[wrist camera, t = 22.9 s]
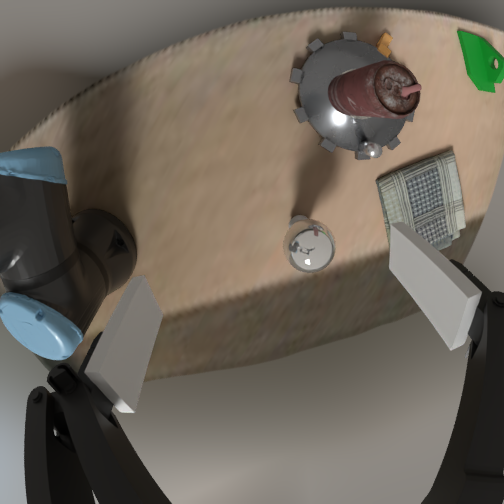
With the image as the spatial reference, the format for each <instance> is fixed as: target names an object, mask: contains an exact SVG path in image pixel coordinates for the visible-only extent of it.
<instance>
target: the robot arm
mask: <svg viewBox="0 0 504 504" xmlns="http://www.w3.org/2000/svg"><path fill="white" fill-rule="evenodd" d="M66 184H67V180H66V179H65V175H64V169H63V162H62V156H61V154H60V152H59V151H58V150H57V149H56V148H54V147H36V148H27V149H20V150H14V151H8V152H3V153H0V276H1V279H2V281H3V284H4V287H5V289H6V293H5V294H3V295H2V296H1V300H0V317H1V319H2V321H3V323H4V325H5V326H6V328H7V329H8V330H9V332H10V333H11V334H12V335H13V336H14V337H15V338H16V339H17V340H18V341H19V342H20V343H21V344H23V345H24V346H25V347H27V348H28V349H29V350H31V351H32V352H34V353H36V354H38V355H40V356H42V357H45V358H48V359H53V360H63V359H66V358H68V357H69V356H71V355H72V354H73V352H74V351H75V349H76V347H77V346H78V344H79V343H80V342H82V340H83V337H84V335H85V333H86V331H87V329H88V327H89V326H90V324H91V322H92V320H93V318H94V316H95V315H96V313H97V311H98V309H99V307H100V306H101V304H102V302H103V300H104V299H105V297H106V296H107V295H109V294H111V293H112V292H114V291H115V290H117V289H119V288H120V287H122V286H123V285H124V284H125V283H126V282H127V281H128V279H129V278H130V276H131V274H132V273H133V271H134V268H135V265H136V259H137V255H136V247H135V244H134V241H133V238H132V236H131V234H130V233H129V231H128V230H127V228H126V227H125V226H124V224H123V223H122V222H121V221H120V220H118V219H117V218H116V217H115V216H113V215H111V214H110V213H108V212H105V211H102V210H98V209H88V210H84V211H81V212H79V213H78V214H76V215H75V216H73V217H72V218H71V213H70V206H69V200H68V193H67V185H66ZM389 269H390V270H391V271H392V273H393V274H394V275H395V276H396V277H397V279H398V280H399V281H400V282H401V284H402V285H403V286H404V287H405V289H406V290H407V291H408V292H409V294H410V295H411V296H412V298H413V299H414V300H415V302H416V303H417V304H418V306H419V307H420V308H421V310H422V311H423V312H424V314H425V315H426V316H427V318H428V319H429V320H430V322H431V323H432V325H433V326H434V327H435V329H436V330H437V332H439V334H440V336H441V337H442V339H443V340H444V341H445V343H446V345H447V346H448V347H449V349H450V350H453V349H455V348H457V347H459V346H461V345H463V344H464V343H465V340H466V338H467V335H468V334H469V336H470V337H471V339H472V341H471V343H470V345H469V348H468V350H467V353H466V355H465V357H466V358H467V356H468V354H469V356H468V363H467V370H466V376H465V381H464V387H463V392H462V396H461V401H460V405H459V409H458V413H457V417H456V421H455V425H454V428H453V431H452V435H451V438H450V441H449V444H448V448H447V451H446V453H445V456H444V459H443V461H442V464H441V467H440V469H439V472H438V474H437V477H436V479H435V481H434V484H433V486H432V488H431V490H430V492H429V493H428V495H427V496H426V497H425V499H424V500H423V502H422V503H421V504H502V502H503V500H504V474H503V470H504V293H502V292H499V291H498V292H495V291H494V292H491V291H490V290H489V289H488V288H487V287H486V286H485V285H484V284H483V283H482V282H480V281H479V280H478V279H477V278H476V277H475V276H473V274H472V273H471V272H470V271H468V269H467V268H466V267H464V266H463V265H462V264H461V263H459V262H457V261H455V260H453V259H451V260H448V259H447V258H446V257H444V256H443V255H442V254H441V253H440V252H439V251H438V250H437V249H435V248H434V247H433V246H432V245H431V244H430V243H428V242H427V241H426V240H425V239H424V238H422V237H421V236H420V235H419V234H418V233H416V232H415V231H414V230H413V229H411V228H410V227H409V226H408V225H406V224H405V223H404V222H403V221H402V222H397V223H393V224H390V264H389ZM162 317H163V314H162V312H161V310H160V308H159V305H158V303H157V301H156V299H155V297H154V295H153V293H152V291H151V289H150V286H149V284H148V282H147V280H146V278H145V275H143V276H138V277H133V278H132V279H131V281H130V283H129V285H128V286H127V288H126V290H125V292H124V294H123V295H122V297H121V299H120V301H119V303H118V305H117V306H116V308H115V310H114V312H113V314H112V316H111V318H110V320H109V322H108V324H107V326H106V328H105V330H104V331H103V332H100V333H99V334H98V336H97V337H96V338H95V339H94V340H93V342H92V344H91V346H90V349H89V351H88V353H87V355H86V357H85V359H84V361H83V363H82V365H81V367H80V369H79V372H78V374H77V373H76V372H75V371H74V370H73V369H72V367H71V366H70V365H69V364H68V363H60V364H58V365H56V366H55V367H54V368H53V369H52V370H51V371H50V372H49V374H48V377H47V382H48V383H49V385H50V386H51V387H52V388H53V389H54V390H55V391H56V392H52V393H49V391H48V390H47V389H46V388H45V387H43V386H39V387H37V388H35V389H33V391H31V393H30V395H29V397H28V400H27V409H26V422H25V441H24V444H25V445H24V467H25V486H26V496H27V504H95V500H94V496H93V492H94V494H95V496H96V498H97V500H98V502H99V504H172V503H171V502H170V501H169V499H168V498H167V497H166V496H165V494H164V493H163V491H162V490H161V489H160V487H159V486H158V485H157V483H156V482H155V480H154V479H153V478H152V476H151V475H150V473H149V472H148V470H147V469H146V467H145V466H144V465H143V463H142V461H141V460H140V458H139V456H138V455H137V453H136V452H135V450H134V448H133V447H132V445H131V443H130V441H129V440H128V438H127V436H126V435H125V433H124V431H123V429H122V427H121V425H120V424H119V422H118V420H117V418H116V416H115V415H114V414H113V412H112V411H111V410H112V407H113V405H114V406H115V407H116V408H117V409H118V410H119V411H120V412H126V413H127V412H128V413H135V411H136V407H137V403H138V399H139V395H140V391H141V387H142V384H143V380H144V377H145V373H146V370H147V366H148V363H149V359H150V356H151V353H152V349H153V346H154V343H155V339H156V336H157V333H158V330H159V326H160V323H161V320H162ZM54 430H56V433H57V435H56V436H55V435H54ZM92 490H93V492H92Z"/></svg>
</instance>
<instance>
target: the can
mask: <svg viewBox="0 0 504 504" xmlns="http://www.w3.org/2000/svg"><path fill="white" fill-rule="evenodd" d="M420 90H421V85H420V84H418V82H417V80H416V78H415V76H414V75H413V73H412V72H411V71H410V70H409V69H407V68H406V67H405V66H403V65H401V64H399V63H397V62H394V61H388V60H383V61H380V62H377V63H374V64H370V65H367V66H364V67H361V68H358V69H355V70H352V71H350V72H347V73H344V74H341V75H339V76H336V77H335V78H334V79H333V80H331V82H330V84H329V86H328V98H329V101H330V103H331V105H332V106H333V107H334V108H335V109H336V110H337V111H338V112H340V113H342V114H344V115H348V116H365V117H380V118H392V119H402V118H404V117H407V116H409V115H410V114H411V113H412V112H413V111H414V110H415V109H416V108H417V106H418V104H419V101H420Z"/></svg>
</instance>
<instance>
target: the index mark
mask: <svg viewBox="0 0 504 504" xmlns="http://www.w3.org/2000/svg"><path fill="white" fill-rule="evenodd" d="M392 39H393V38H392V37H391V36H390V35H388V34H387V33H384V34H383V35H382V36H381V38H380V40H379V42H378V43H377V45H378V44H380V43H382V44H383V45H384V46H385V47H388V46H389V44H390V42H391V40H392ZM377 45H376V46H377Z"/></svg>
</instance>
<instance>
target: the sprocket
mask: <svg viewBox="0 0 504 504" xmlns="http://www.w3.org/2000/svg"><path fill="white" fill-rule="evenodd" d="M340 35H341V40H336V41H332V42H329V43H326V44H325V45H324V44H323V43H322V42H321V41H320V40H319V39H318V38H317V39H316V40H315V41H313V42H312V43H310V44H309V45H308V46H307V47H306V48H307V49H308V50H309V51H310V52H311V53H312V54H311V55H310V56H309V57H308V59H307V60H306V62H305V63H304V65H303V67H302V69H301V70H300V69H296V68H293V69H292V71H291V76H290V81H289V82H291V83H296V84H298V94H299V101H300V104H301V107H300V108H297V109H295V110H293V111H294V113H295V115H296V117H297V119H298V122H299V123H302V122H304V121H307V120H308V122H309V123H310V124H311V126H312V127H313V128H314V129H315V130H316V132H317V133H318V134H320V135H321V136H322V139H321V141H320V142H319V144H318V145H320V146H321V147H323V148H325V149H326V150H328V151H329V152H333V150H334V149H335V147H336V146H339V147H341V148H344V149H347V150H352V151H355V159H357V160H364V159H370V156H371V157H374V158H378V157H380V156H381V154H382V148H381V147H383V146H385V145H386V146H387V147H388V149H390V150H393V149H394V148H395V147H397V146H398V145H399V144H400V143H401V142H400V141H399V139H398V138H397V135H398V134H399V133H400V131H401V129H402V128H403V126H404V123H405V121H408V122H413V117H414V112H415V110H414V111H413V112H412V113H411V114H410V115H409V116H407V117H404V118H402V119H392V118H380V117H365V116H348V115H344V114H342V113H340V112H338V111H337V110H336V109H335V108H334V107H333V106H332V105H331V103H330V101H329V98H328V86H329V84H330V82H331V80H333V79H334V78H335V77H336V76H339V75H341V74H344V73H347V72H350V71H352V70H355V69H358V68H361V67H364V66H367V65H370V64H374V63H377V62H380V61H383V60H388V61H392V60H391V59H390V58H389V55H390V53H391V50H389V49H388V48H387V47H385V46H384V45H383V44H382V43H380V44H378V45H377V47H374V46H372V45H370V44H368V43H365V42H362V41H358V40H357V36H356V33H352V32H342V33H341V34H340Z"/></svg>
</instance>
